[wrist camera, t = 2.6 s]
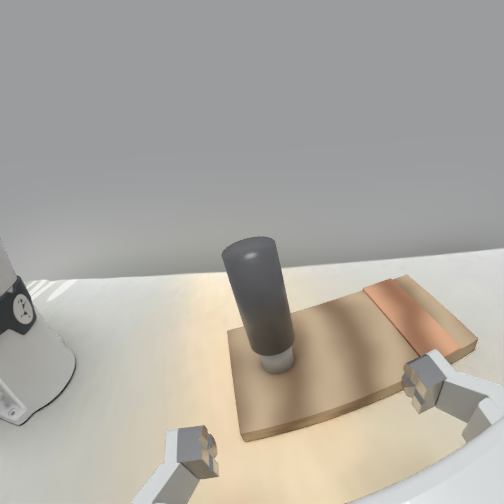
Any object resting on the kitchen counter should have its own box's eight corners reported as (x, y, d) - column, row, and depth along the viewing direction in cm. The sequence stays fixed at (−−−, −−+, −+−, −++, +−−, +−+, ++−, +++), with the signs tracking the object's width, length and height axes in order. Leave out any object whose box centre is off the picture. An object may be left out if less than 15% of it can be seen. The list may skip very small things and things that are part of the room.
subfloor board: (245, 442, 21) (239, 432, 20) (230, 340, 34) (226, 328, 33) (474, 349, 21) (478, 336, 21) (406, 284, 34) (406, 272, 34)
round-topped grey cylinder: (261, 383, 25) (223, 267, 20) (254, 354, 28) (220, 245, 24) (304, 370, 25) (280, 251, 20) (293, 343, 29) (269, 232, 24)
